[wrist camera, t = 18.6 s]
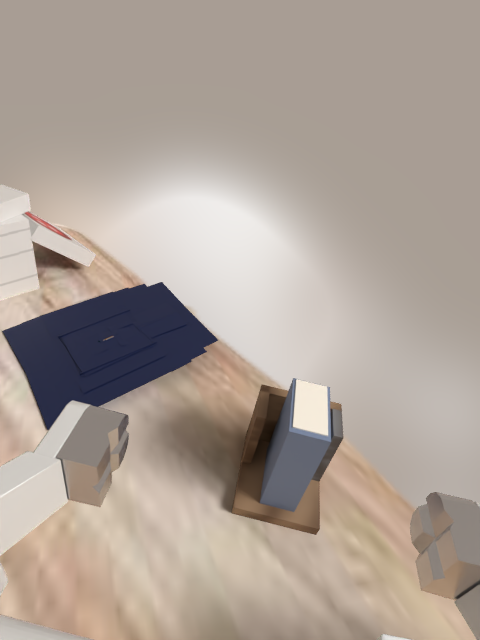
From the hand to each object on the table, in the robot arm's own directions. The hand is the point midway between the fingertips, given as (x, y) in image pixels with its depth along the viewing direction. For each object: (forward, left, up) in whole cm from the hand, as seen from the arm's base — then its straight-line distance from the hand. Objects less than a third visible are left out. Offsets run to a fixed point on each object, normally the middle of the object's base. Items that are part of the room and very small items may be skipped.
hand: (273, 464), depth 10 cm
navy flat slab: (-24, +43, -40) cm, 64 cm away
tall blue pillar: (+7, +24, -38) cm, 46 cm away
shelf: (+7, +25, -40) cm, 48 cm away
